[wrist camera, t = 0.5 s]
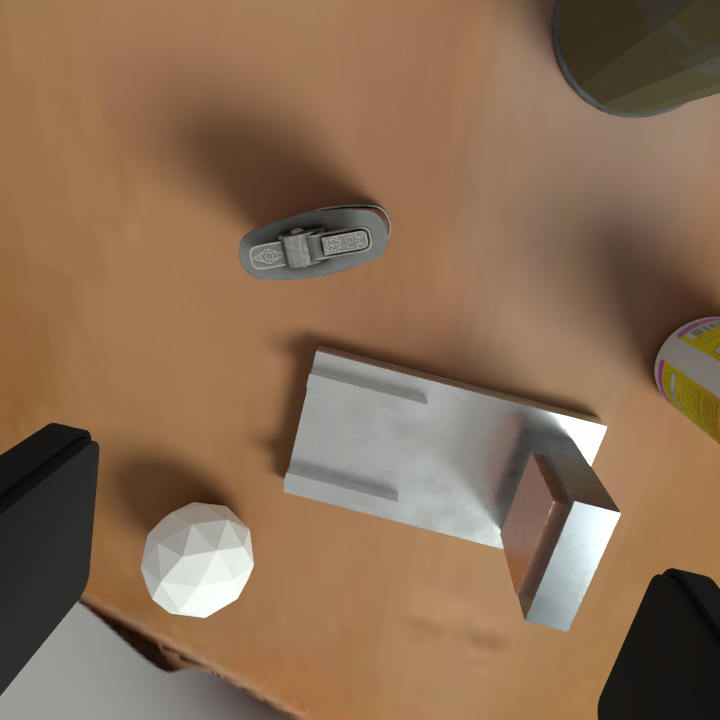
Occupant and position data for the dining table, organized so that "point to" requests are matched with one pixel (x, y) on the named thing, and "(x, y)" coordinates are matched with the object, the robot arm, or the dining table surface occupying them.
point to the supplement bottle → (693, 373)
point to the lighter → (316, 242)
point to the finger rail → (460, 470)
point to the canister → (639, 52)
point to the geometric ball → (197, 559)
